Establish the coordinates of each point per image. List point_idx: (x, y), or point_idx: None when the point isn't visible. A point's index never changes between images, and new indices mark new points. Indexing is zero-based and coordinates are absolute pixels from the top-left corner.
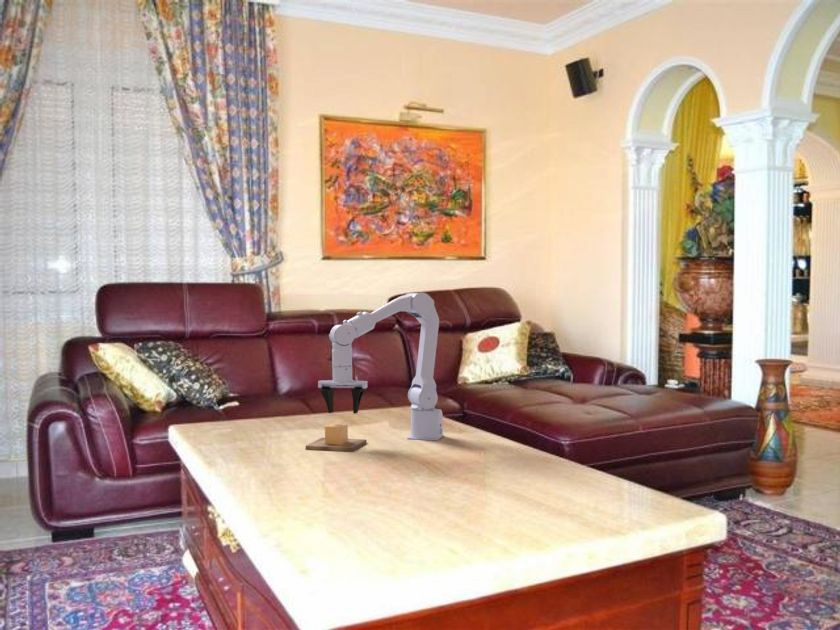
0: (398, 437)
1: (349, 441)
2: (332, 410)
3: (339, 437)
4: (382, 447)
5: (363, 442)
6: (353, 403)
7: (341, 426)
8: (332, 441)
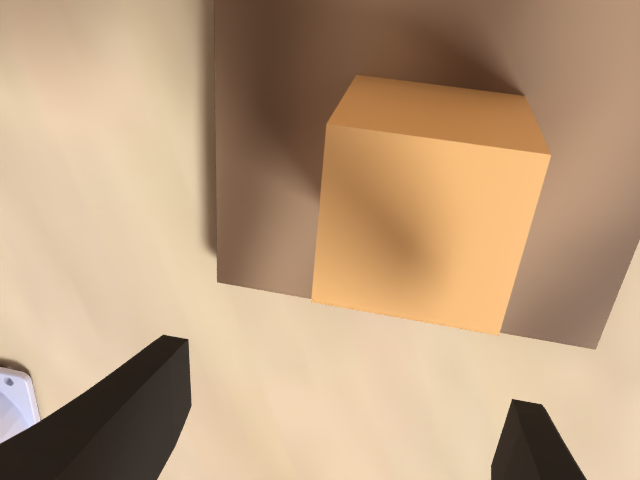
0: None
1: None
2: (498, 465)
3: (368, 95)
4: (72, 150)
5: (220, 218)
6: (104, 416)
7: (337, 167)
8: (448, 94)
